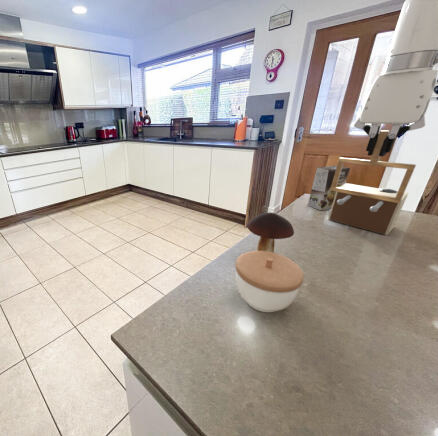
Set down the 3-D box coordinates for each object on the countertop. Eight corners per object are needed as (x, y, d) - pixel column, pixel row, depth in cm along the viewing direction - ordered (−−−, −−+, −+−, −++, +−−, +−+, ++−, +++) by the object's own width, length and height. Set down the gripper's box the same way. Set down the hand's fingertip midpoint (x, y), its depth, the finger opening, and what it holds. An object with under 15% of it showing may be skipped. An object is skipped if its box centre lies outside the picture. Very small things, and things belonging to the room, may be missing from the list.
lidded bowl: (286, 334, 44) (298, 289, 40) (222, 303, 52) (227, 263, 47) (300, 296, 53) (311, 255, 48) (243, 274, 60) (249, 237, 56)
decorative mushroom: (240, 250, 71) (246, 204, 64) (280, 254, 68) (291, 206, 61) (243, 272, 61) (250, 221, 55) (290, 278, 58) (304, 224, 52)
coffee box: (321, 210, 92) (332, 170, 86) (306, 205, 98) (316, 167, 91) (338, 207, 94) (351, 167, 88) (324, 202, 100) (334, 164, 93)
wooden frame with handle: (400, 202, 56) (430, 131, 49) (399, 203, 55) (429, 131, 48) (331, 189, 66) (348, 129, 60) (329, 190, 66) (346, 130, 59)
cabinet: (393, 227, 78) (408, 193, 73) (378, 245, 69) (394, 208, 64) (336, 213, 90) (345, 183, 85) (317, 227, 81) (326, 194, 75)
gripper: (470, 58, 45) (427, 156, 53) (365, 71, 56) (343, 150, 64) (466, 56, 41) (420, 161, 49) (354, 70, 53) (332, 154, 60)
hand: (376, 154), depth 56 cm, fingers closed on wooden frame with handle, 1 cm apart
